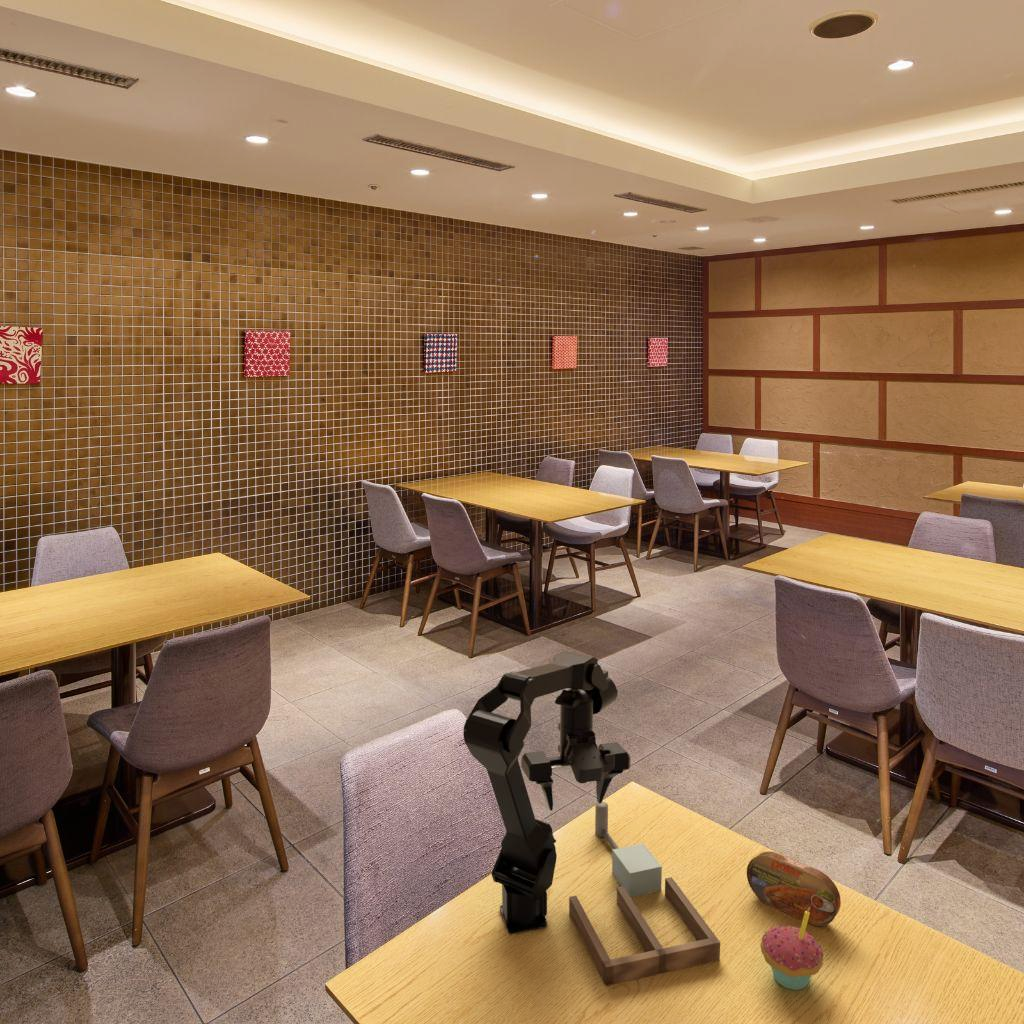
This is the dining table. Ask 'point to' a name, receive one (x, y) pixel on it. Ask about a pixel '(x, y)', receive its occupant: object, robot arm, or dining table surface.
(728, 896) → the dining table surface
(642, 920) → the lane rack
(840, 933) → the dining table surface
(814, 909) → the tin
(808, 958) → the cupcake
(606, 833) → the grey block with handle
